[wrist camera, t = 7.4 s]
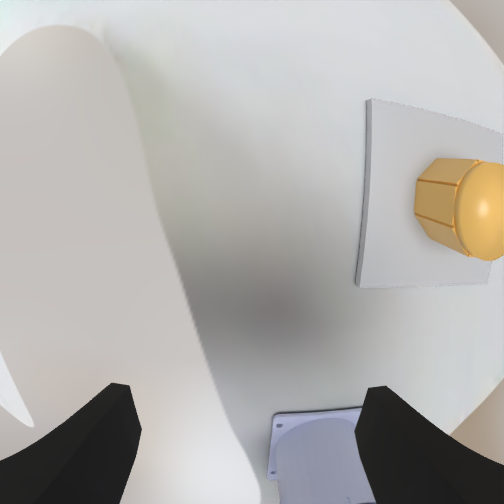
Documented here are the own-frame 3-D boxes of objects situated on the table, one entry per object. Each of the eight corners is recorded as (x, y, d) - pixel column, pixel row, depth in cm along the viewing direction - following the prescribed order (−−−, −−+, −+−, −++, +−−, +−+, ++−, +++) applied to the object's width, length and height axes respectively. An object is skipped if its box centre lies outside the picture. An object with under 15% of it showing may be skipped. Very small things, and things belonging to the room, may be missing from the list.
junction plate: (481, 280, 19) (513, 299, 15) (355, 283, 18) (379, 311, 14) (496, 134, 16) (533, 133, 12) (366, 100, 15) (396, 86, 12)
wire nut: (468, 241, 17) (514, 261, 12) (410, 238, 17) (454, 260, 12) (476, 166, 16) (525, 171, 11) (417, 154, 15) (465, 154, 11)
